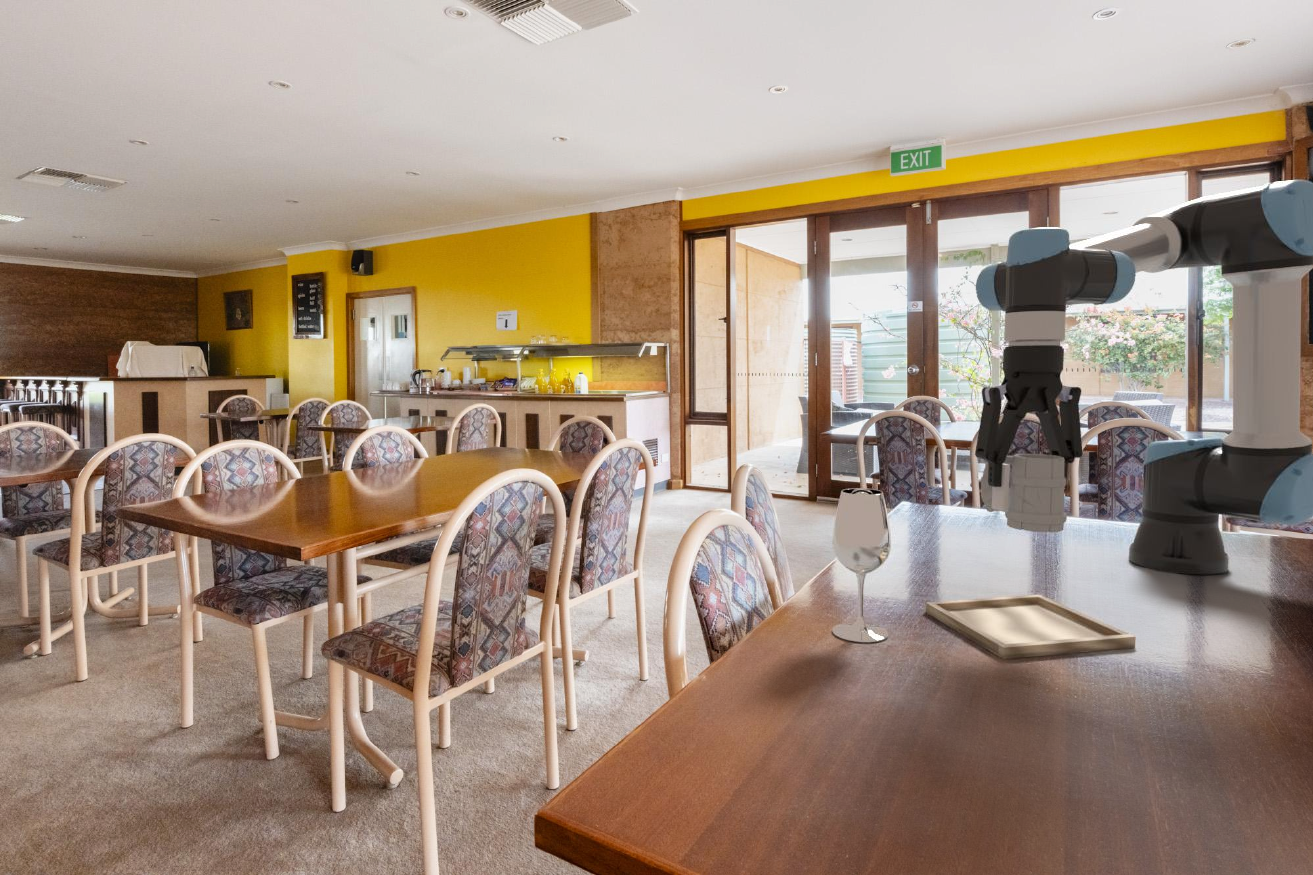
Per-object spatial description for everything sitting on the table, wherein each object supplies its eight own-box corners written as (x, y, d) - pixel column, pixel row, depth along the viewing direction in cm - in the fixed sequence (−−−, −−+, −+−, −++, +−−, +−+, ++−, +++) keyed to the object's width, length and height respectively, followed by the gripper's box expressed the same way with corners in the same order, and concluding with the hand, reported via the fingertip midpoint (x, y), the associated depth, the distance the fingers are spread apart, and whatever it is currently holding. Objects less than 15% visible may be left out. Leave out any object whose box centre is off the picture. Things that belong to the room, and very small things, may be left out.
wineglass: (890, 627, 110) (893, 488, 108) (888, 646, 103) (890, 497, 101) (834, 621, 113) (836, 485, 111) (828, 639, 106) (829, 494, 104)
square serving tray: (1039, 603, 120) (1039, 594, 120) (1135, 647, 101) (1135, 636, 101) (925, 612, 117) (925, 602, 116) (1003, 659, 98) (1003, 647, 98)
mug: (1050, 535, 102) (1056, 444, 101) (965, 521, 111) (969, 437, 110) (1076, 528, 106) (1081, 441, 105) (992, 515, 116) (996, 435, 115)
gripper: (1080, 345, 112) (1073, 502, 114) (950, 345, 108) (944, 506, 111) (1119, 344, 104) (1111, 511, 107) (981, 343, 101) (974, 516, 103)
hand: (1026, 508), depth 109 cm, fingers closed on mug, 7 cm apart
